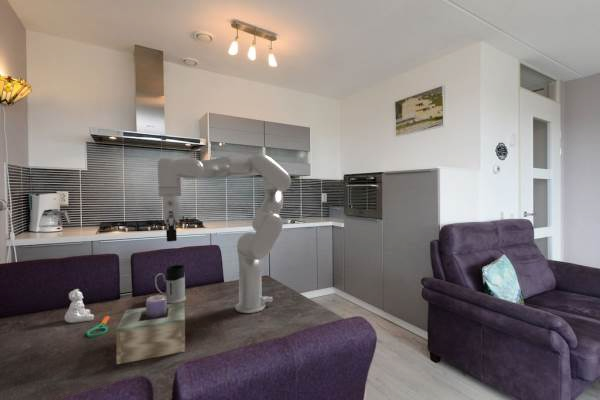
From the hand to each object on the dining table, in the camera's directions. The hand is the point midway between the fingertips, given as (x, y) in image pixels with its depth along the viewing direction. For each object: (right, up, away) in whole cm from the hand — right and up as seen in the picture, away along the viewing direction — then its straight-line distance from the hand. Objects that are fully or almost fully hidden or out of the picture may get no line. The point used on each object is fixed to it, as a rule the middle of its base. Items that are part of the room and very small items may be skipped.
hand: (171, 239), depth 106 cm
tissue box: (+1, -32, -14) cm, 35 cm away
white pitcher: (-11, -32, +25) cm, 42 cm away
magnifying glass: (-25, -33, -1) cm, 41 cm away
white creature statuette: (-38, -32, +5) cm, 50 cm away
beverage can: (+1, -32, -13) cm, 35 cm away
